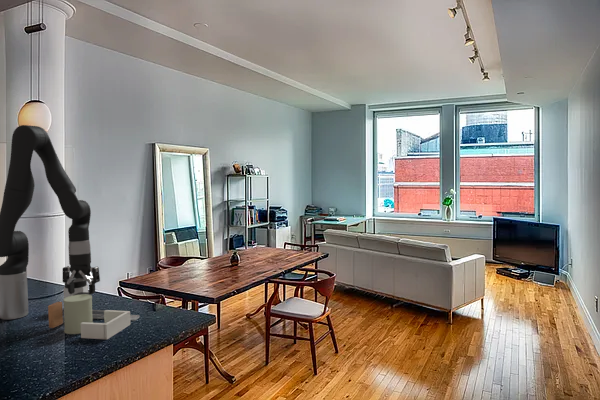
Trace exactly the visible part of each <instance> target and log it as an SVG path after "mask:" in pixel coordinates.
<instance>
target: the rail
mask: <svg viewBox="0 0 600 400" xmlns="http://www.w3.org/2000/svg"><path fill="white" fill-rule="evenodd" d="M95 319H97V320H104V315H100V314H92V320H95ZM138 319H140V314H130V321H132V322H135V321H137V320H138Z"/></svg>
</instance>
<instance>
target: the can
mask: <svg viewBox="0 0 600 400" xmlns="http://www.w3.org/2000/svg"><path fill="white" fill-rule="evenodd" d="M62 303H63V317H64V322H63V324H64V330H63V332H64V333H65V334H67V335H79V334H80V335H81V323H82V322H88V323H94V321H93V320H94V319H92V310H93V296H92V294H90V295H88V294H81V295H73V296H69V297H66V298H64V297H63V299H62Z"/></svg>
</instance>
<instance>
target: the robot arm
mask: <svg viewBox="0 0 600 400" xmlns="http://www.w3.org/2000/svg"><path fill="white" fill-rule="evenodd" d="M12 133H13V134H12V136H11V147H10V160H9V166H8V171H7V176H6V180H5V184H4V185H5V186H4V190H3V191H4V192H3V196H2V201H1V206H0V207H1V208H0V258H6V257H7V258H6V260H5V261H4V262H3V263H2V264H0V319H1V320H15V319H20V318H23V317H26V316H27V315H29V297H28V276H27V275H28V271H27V267H28V265H29V255H30V253H29V252H30V251H29V250H30V249H29V239H28V237H27V234H26V233H25V232H23V231H21V230H15V229H16V225H17V223H18V222H19V220H20V219H21V217H22V216H23V215H24V213H25V212H26V211H27V209H29V208H30V205H31V203H32V200H33V197H34V191H35V185H36V184H35V180H34V179H35V178H34V175H33V173H32V172H33V171H32V166H31V163H32V157H33V153H36V155H38V157H39V158H40V160H41V162H42V164H43V167H44V173H45V177H46V180H47V182H48V184H49V186H50V187H51V189H52V190H53V192H54V194H55V195H56V197H57V199H58V202H59V205H60V208H61V210H62V212H63V213H64V215H65V216H66V217H67V218H69V219H71V225H70V226H69V228H68V230H67V231H68V233H67V234H68V246H67V247H68V262H69V263H68V264H69V265H67V266H65V267H62V283H64V284H65V283H67V284H68V292H69V294H72V293H74V292H75V290H74V283H73V282H74V281H75V279H78V278H81V279H83V278H84V279H85V280H86V281H87V284H88V292H89V294H90V295H93V294H95V293H96V284H97V283H100V282H101V277H100V268H99V266H95V267H92V266H91V263H92V253H91V242H90V231H89V228H90V227H89V226H90V222H91V216H92V215H91V213H92V212H91V207H90V204H89V202H87V201H86V200H83V199H80V200H79V199H78V197H77V195H76V192H77V189H76V186H75V185H74V183H73V182H72V180H71V178H70V177H69V175H68V174H67V172H66V170H65V169H64V167H63V165H62V163H61V160H60V159H59V156H58V154H57V153H56V152H57V151H56V150H55V148H54V145H53V143H52V140H51V138H50V135H49V134H48V132H47V131H46V130H45V129H44V128H42V127H41V126H39V125H38V126H37V125H28V124H23V125H22V124H21V125H19V126H17V127H16V128H15V129H14V130H13V132H12Z"/></svg>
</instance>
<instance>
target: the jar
mask: <svg viewBox="0 0 600 400" xmlns="http://www.w3.org/2000/svg"><path fill="white" fill-rule="evenodd" d="M73 283H74V290H75V292H74V293H72V294H69V292H68V284H67V283H64V287H63V299H64V298H66V297H69V296H73V295H75V294H77V293H80V292H89V284H88V282H87V281H86V280H85V279H84V278H83V279H81V278H78V279H75V281H74V282H73Z"/></svg>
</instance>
